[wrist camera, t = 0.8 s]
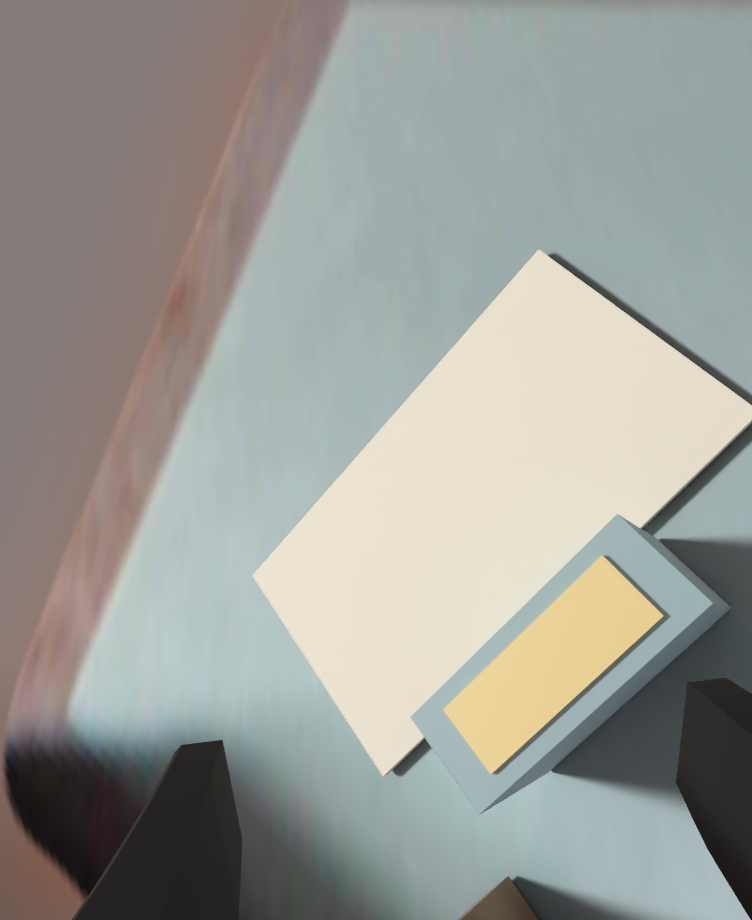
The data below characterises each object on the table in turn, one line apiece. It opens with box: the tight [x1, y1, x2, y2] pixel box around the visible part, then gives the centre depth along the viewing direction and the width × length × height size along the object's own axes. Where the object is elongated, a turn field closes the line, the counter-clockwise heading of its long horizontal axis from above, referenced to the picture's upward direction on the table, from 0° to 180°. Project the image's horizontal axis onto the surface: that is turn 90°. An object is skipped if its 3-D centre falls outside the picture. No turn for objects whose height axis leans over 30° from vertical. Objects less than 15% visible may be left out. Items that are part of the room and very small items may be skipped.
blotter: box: [252, 250, 752, 776], centre depth 26 cm, size 10×18×1 cm, turn 130°
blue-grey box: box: [410, 514, 731, 815], centre depth 20 cm, size 3×8×6 cm, turn 130°
